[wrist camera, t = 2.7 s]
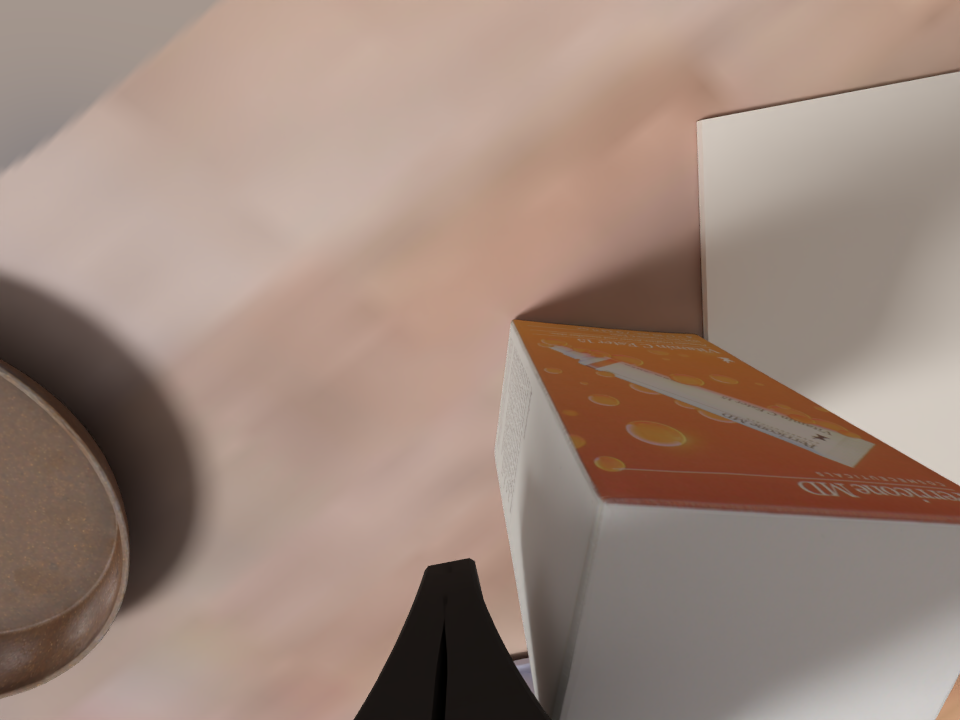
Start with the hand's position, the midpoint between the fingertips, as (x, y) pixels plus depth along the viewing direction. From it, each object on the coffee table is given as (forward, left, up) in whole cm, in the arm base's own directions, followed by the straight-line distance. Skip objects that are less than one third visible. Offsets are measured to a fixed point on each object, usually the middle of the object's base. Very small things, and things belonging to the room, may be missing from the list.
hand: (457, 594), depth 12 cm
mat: (0, -18, -10) cm, 20 cm away
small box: (0, -6, -10) cm, 12 cm away
